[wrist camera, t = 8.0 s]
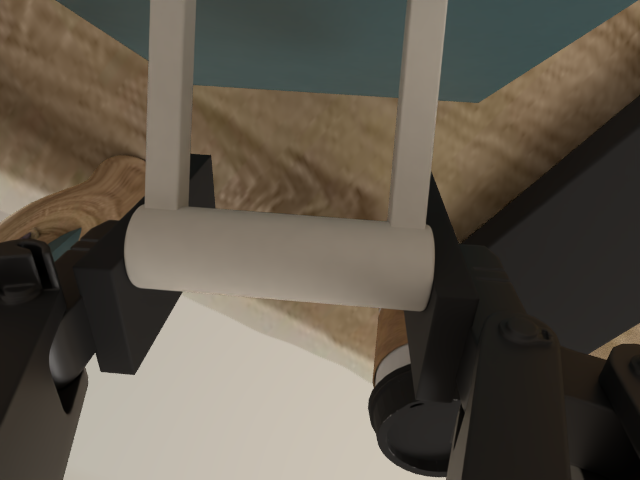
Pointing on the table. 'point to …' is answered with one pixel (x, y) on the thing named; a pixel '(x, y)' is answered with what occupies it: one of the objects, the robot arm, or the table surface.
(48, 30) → the table surface
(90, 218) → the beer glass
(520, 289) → the external hard drive
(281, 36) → the bread box lid
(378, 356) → the coffee cup
